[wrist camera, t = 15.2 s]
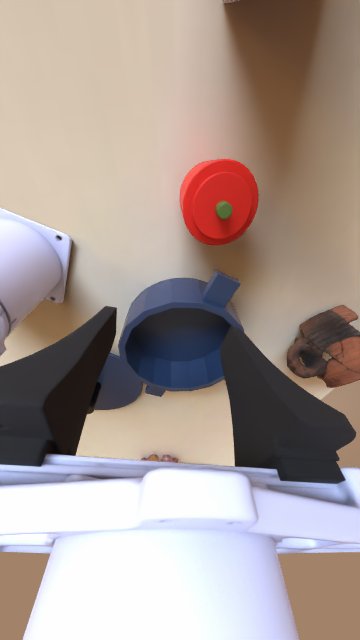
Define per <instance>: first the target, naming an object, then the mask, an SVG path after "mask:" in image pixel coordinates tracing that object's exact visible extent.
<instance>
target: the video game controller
mask: <svg viewBox="0 0 360 640" xmlns="http://www.w3.org/2000/svg"><path fill="white" fill-rule="evenodd" d="M141 460H145V461H158V456H156V455H151V456H150V457H149V458H148V459H147V460H146V459H145V458H142V459H141ZM161 462H175V463H178V460H177V459H176V458H175V459H173V460H172V459H171V457H170V456H169V455H164V456H163V457H162V460H161Z"/></svg>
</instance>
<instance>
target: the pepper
mask: <svg viewBox="0 0 360 640" xmlns="http://www.w3.org/2000/svg"><path fill="white" fill-rule="evenodd" d="M180 204H181V209H182V213H183V217H184V221H185V224H186V226H187V228H188V230H189V231H190V233H191V234H192V235H193V236H194V237H195V238H196V239H197V240H199V241H201V242H203V243H205V244H208V245H223V244H227V243H230V242H232V241H234V240H235V239H237V238H238V237H240V236H241V235H242V234H243V233H244V232H245V231H246V230H247V228H248V227H249V226H250V224H251V223H252V221H253V219H254V216H255V214H256V211H257V207H258V188H257V183H256V181H255V178H254V176H253V175H252V173H251V172H250V170H249V169H248V168H247V167H246V166H244V165H243V164H241V163H240V162H237V161H235V160H231V159H220V160H211V161H205V162H202V163H200V164H198V165H196V166H195V167H194V168H193V169H191V171H190V172H189V173H188V174H187V176H186V177H185V179H184V181H183V184H182V187H181V191H180Z"/></svg>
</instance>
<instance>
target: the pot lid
mask: <svg viewBox="0 0 360 640" xmlns="http://www.w3.org/2000/svg"><path fill="white" fill-rule="evenodd" d="M142 386H143V382H141V381H139V380H137V379H136V378H134V377H133V376H132V375H131V374H130V373H129V372H128V370H127V369H126V368H125V367H124V366H123V364H122V363H121V358H120V357H119V356H116V355H114V354H111V353H109V355H108V358H107V360H106V362H105V365H104V367H103V369H102V371H101V374H100V376H99V378H98V381H97V384H96V386H95V389H94V393H93V396H92V399H91V402H90V406H89V409H88V412H87V414H90V413H92V412H93V411H94V410H110V409H116V408H121V407H124V406H126V405H129V404H130V403H132V402H134V401H135V400H136V399H137V398H138V397H139V395H140V394H141V391H142Z"/></svg>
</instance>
